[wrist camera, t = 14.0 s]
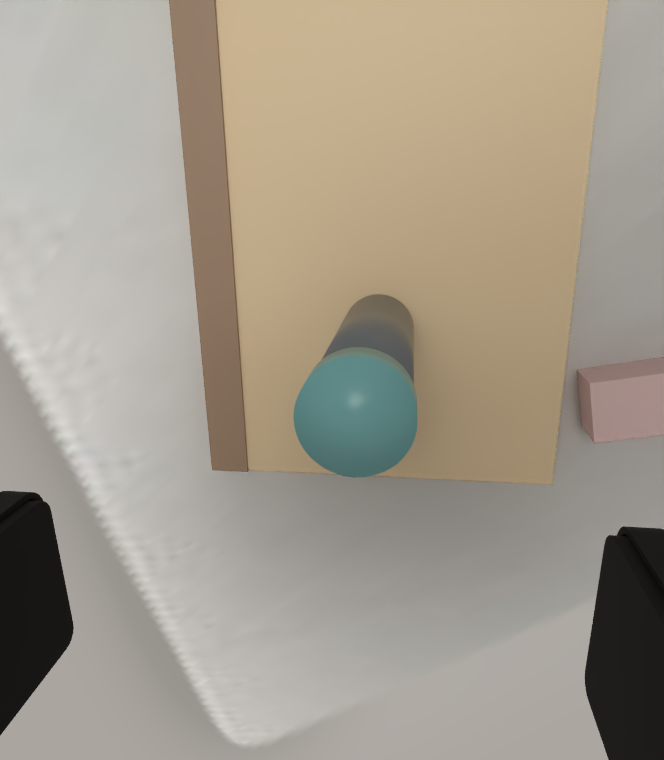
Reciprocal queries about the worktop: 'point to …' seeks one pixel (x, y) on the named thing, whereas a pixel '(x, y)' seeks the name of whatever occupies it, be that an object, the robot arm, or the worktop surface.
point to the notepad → (389, 212)
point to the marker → (362, 392)
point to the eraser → (622, 400)
